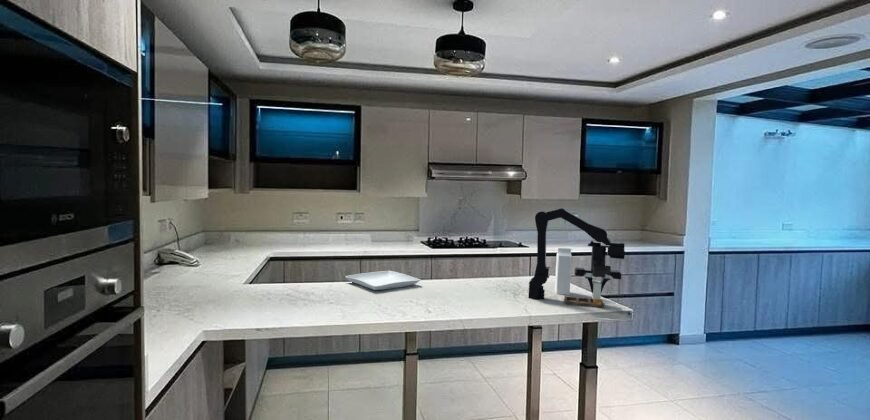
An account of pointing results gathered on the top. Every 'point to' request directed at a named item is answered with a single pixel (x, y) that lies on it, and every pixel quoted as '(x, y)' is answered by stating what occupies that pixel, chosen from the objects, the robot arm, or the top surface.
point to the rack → (583, 302)
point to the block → (596, 290)
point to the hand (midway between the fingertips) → (596, 292)
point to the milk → (563, 271)
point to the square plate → (382, 280)
